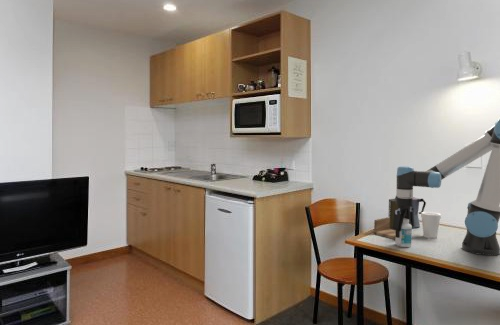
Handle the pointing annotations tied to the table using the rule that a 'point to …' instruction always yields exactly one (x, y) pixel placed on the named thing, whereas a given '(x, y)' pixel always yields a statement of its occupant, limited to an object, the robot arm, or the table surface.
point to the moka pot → (416, 208)
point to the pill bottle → (405, 234)
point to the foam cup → (430, 224)
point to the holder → (384, 228)
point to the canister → (392, 210)
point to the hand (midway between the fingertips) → (403, 242)
